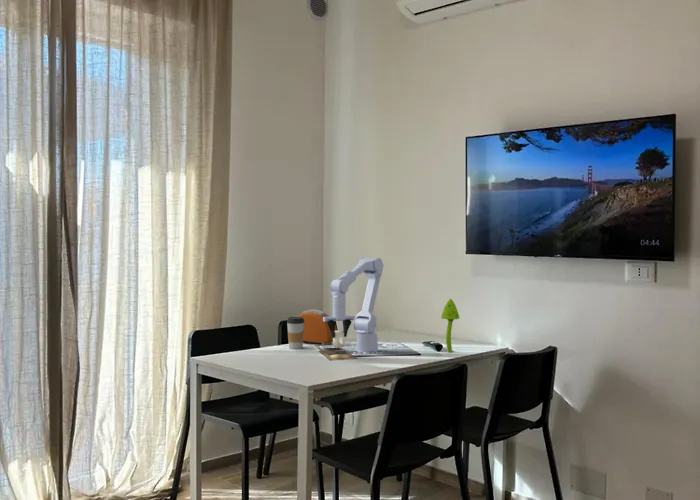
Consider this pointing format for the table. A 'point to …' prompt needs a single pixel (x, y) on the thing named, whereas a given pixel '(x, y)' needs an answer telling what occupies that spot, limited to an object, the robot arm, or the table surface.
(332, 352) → the socket
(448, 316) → the mushroom
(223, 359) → the table surface
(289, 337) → the coffee cup
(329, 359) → the board
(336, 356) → the coaster
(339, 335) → the cream tapered cylinder
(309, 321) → the orange toaster
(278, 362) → the table surface
